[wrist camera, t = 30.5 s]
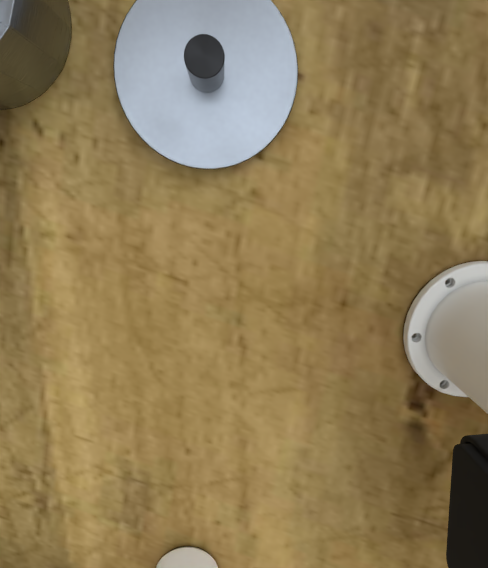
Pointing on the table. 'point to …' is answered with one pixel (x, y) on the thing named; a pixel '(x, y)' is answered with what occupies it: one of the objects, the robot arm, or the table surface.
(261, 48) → the pot lid
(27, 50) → the pot
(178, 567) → the can
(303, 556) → the table surface
